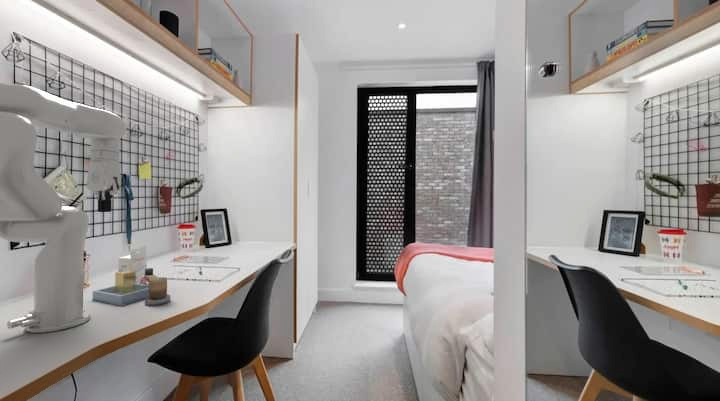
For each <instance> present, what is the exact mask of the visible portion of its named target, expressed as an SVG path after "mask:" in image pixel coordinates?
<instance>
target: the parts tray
mask: <svg viewBox="0 0 720 401" xmlns="http://www.w3.org/2000/svg"><path fill="white" fill-rule="evenodd" d="M147 297H149V284H137V283H136V287H135V292H132V293H128V294H125V295H118V294H115V285H113V286H108V287H103V288H99V289H96V290H93V291H92V301H95V302H99V303H100V302H101V303H105V304H109V305H114V306H120V307H122V306H124V305H128V304H131V303H134V302H135V303H136V302H137V301H141V300H145V298H147Z"/></svg>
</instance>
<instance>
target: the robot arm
mask: <svg viewBox="0 0 720 401" xmlns="http://www.w3.org/2000/svg"><path fill="white" fill-rule="evenodd" d="M35 126H36V127H40V128H43V129H49V130H50V131H51V130H52V131H56V132H61V133H68V134H69V133H71V134H72V135H73V136H75V137H78V138H82V139H90V161H89V164H88V169H87V178H86V188H87V190H89V191H92V194H93V195H95V196H96V200H97V212H99V213H111V212H112V201H113V199H114V196H115V195H118V191H119V190H121V185H122V184H121V183H122V181H121V180H122V178H121V166H120V144H121V143H120V139H122V138H123V137H125V135H126V132H127V127H126V123H125V121H124V120H123V119H122V117H121V116H119V115H117V114H116V113H113V112H112V111H108V110H105V109H101V108H96V107H93V106H89V105H85V104H82V103H77V102H74V101H73V102H72V101H68V100H65V99H63V98H60V97H58V96H56V95H52V94H50V93H48V92H46V91H43V90H41V89H38V88H36V87H33V86H29V85H25V84H16V83H5V82H0V238H1V239H3V240H5V241H8V242H12V243H45V246H43V248H42V249H41V250H40V251H39V253H38V254H37V255H36V257H35V259H34V288H33V290H34V292H33V294H34V298H33V299H34V303H33V304H34V305H33V306H34V307H33V308H34V309H32V310H29V311H28V314H26V315H24V317H20V318H16V319H12V320H8V321H7V322H6V323H7V324H6V327H7V328H8V329H9V330H11V329H15V328H18V327H21V328H24V329H25V331H26V332H27V333H34V334H35V333H37V334H38V333H40V334H41V333H49V332H57V331H63V330H66V329H69V328H73V327H76V326H77V327H78V326H79V325H81V324H84V323H86V322H87V321H89V320H90V319H91V313H90V311H86V310H84V263H85V262H84V256H85V255H84V253H85V242H86V237H87V232H88V229H89V223H90V222H89V221H90V220H89V219H90V218H89V216H88V214H87V213H86V212H85V211H84V210H82V209H80V208H77V207H74V206H67V205H64V206H63V201H62V198H61V197H60V195H59V194H58V192H56V190H55V189H54V188H53V187H52V186H51V185H50V184H49V183H48V181H46V180H45V179H44V177H42V176H41V175H40V173H39V172H38V171H37V169H35V155H36V148H37V142H38V133H37V130H36V127H35Z"/></svg>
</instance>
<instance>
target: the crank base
mask: <svg viewBox="0 0 720 401" xmlns="http://www.w3.org/2000/svg"><path fill="white" fill-rule="evenodd" d="M170 302H171V295H170V294H168V293H167V296H166V297H164V298H160V299H149V297H147V298H145V299H144V305H145V306H149V307H155V306H162V305H165V304H167V303H170Z"/></svg>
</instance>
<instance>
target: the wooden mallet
mask: <svg viewBox="0 0 720 401" xmlns="http://www.w3.org/2000/svg"><path fill="white" fill-rule="evenodd" d="M144 279H145V280H146V283H148V285H149V299H160V298H164V297H166V296H167V294H168V278H167V277H164V276H163V277H160V276H159V277H158V276H156V275H155V274H154V268H151V267H150V268H149V267H148V268H147V269H145V274H144Z"/></svg>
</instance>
